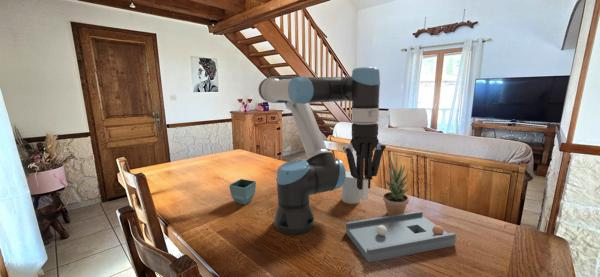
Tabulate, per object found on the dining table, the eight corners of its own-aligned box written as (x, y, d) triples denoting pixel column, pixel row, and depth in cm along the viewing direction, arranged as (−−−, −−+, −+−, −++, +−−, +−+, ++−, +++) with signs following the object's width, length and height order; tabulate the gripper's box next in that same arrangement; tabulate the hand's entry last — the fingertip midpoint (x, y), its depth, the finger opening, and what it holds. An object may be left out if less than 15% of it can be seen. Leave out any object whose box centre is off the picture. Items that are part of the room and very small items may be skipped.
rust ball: (436, 238, 80) (437, 229, 79) (429, 233, 83) (430, 224, 82) (445, 237, 81) (446, 228, 80) (437, 231, 84) (438, 222, 83)
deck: (368, 262, 74) (368, 250, 73) (345, 232, 89) (345, 222, 88) (454, 245, 80) (455, 234, 80) (420, 220, 96) (420, 210, 95)
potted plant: (379, 208, 106) (381, 150, 101) (402, 208, 106) (405, 150, 101) (386, 220, 96) (389, 157, 91) (412, 220, 96) (416, 157, 91)
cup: (360, 204, 110) (361, 178, 108) (341, 203, 112) (341, 177, 109) (360, 196, 118) (360, 171, 116) (342, 195, 120) (342, 171, 117)
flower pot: (257, 199, 118) (256, 181, 116) (246, 207, 110) (244, 188, 108) (242, 196, 121) (240, 178, 120) (230, 204, 114) (228, 185, 112)
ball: (379, 238, 81) (380, 229, 80) (374, 233, 84) (374, 224, 83) (388, 236, 82) (389, 227, 81) (383, 231, 85) (383, 222, 84)
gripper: (349, 125, 69) (348, 206, 73) (392, 122, 72) (389, 200, 76) (338, 122, 76) (338, 196, 81) (378, 119, 79) (376, 191, 83)
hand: (363, 198), depth 78 cm, fingers closed
